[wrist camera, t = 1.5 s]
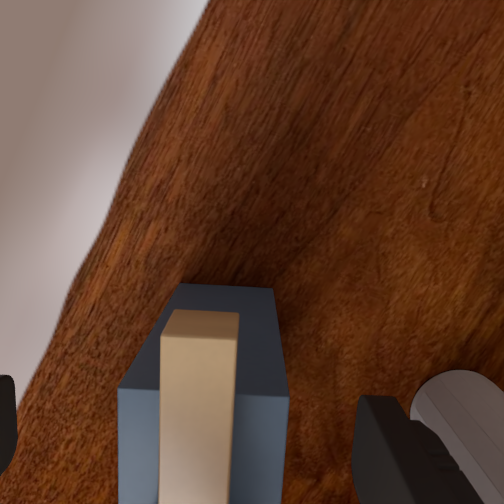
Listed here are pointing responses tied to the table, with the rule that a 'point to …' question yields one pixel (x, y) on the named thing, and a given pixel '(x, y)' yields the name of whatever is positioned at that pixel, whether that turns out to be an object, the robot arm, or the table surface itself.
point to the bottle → (467, 426)
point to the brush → (197, 406)
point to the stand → (246, 399)
